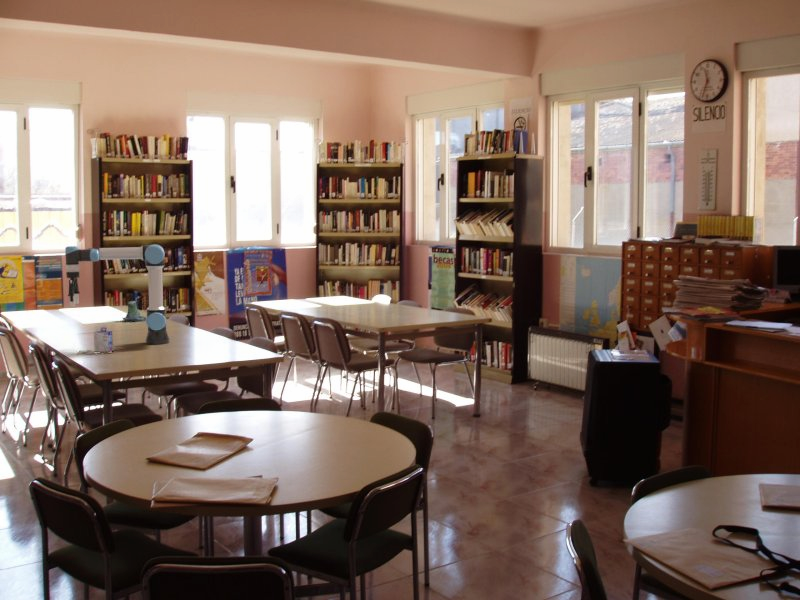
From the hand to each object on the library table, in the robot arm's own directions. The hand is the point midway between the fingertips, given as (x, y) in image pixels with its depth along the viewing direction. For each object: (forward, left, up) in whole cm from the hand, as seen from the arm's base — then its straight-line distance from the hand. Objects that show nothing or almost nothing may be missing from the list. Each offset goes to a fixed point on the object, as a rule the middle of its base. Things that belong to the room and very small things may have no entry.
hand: (74, 305), depth 530 cm
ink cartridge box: (-17, +14, -28) cm, 35 cm away
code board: (-12, +14, -28) cm, 33 cm away
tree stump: (-29, -131, -28) cm, 137 cm away
